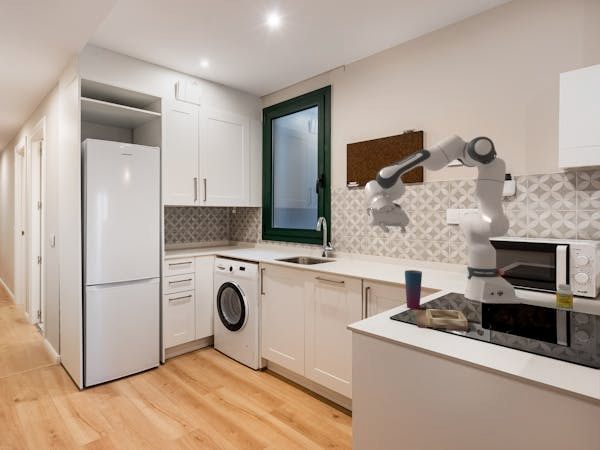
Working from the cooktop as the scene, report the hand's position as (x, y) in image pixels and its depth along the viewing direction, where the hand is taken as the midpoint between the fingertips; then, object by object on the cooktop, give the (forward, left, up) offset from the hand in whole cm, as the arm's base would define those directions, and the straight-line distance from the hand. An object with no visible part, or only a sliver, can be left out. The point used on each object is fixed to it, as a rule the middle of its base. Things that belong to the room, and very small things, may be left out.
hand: (395, 231), depth 155 cm
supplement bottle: (-66, -2, -31) cm, 73 cm away
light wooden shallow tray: (-15, +25, -31) cm, 42 cm away
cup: (-7, +9, -31) cm, 33 cm away
